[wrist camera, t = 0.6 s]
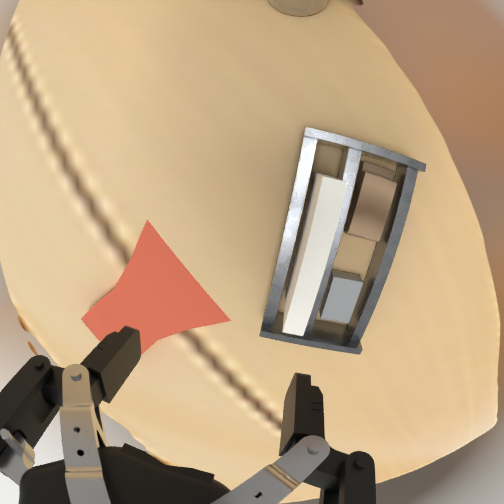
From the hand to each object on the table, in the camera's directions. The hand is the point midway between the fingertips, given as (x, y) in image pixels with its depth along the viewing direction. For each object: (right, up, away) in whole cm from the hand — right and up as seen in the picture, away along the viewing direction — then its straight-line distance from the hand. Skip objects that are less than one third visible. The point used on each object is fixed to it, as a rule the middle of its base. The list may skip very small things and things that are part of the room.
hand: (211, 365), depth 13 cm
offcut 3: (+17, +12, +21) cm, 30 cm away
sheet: (-17, -4, +35) cm, 38 cm away
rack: (+14, +7, +25) cm, 30 cm away
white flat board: (+10, +8, +26) cm, 29 cm away
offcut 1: (+15, -1, +28) cm, 32 cm away
